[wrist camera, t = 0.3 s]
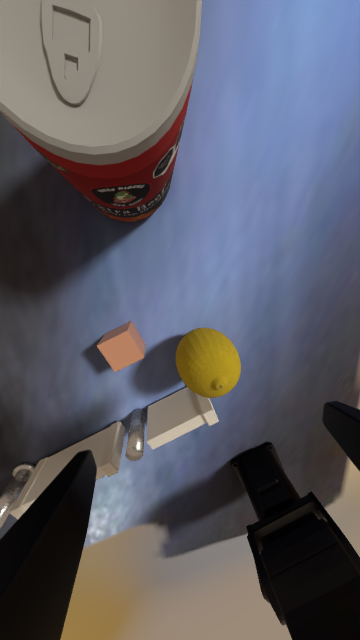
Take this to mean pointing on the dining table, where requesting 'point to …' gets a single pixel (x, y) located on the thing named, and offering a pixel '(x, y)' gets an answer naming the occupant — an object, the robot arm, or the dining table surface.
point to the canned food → (102, 92)
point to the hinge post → (136, 435)
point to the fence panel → (178, 416)
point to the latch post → (14, 489)
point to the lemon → (208, 362)
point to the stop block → (122, 346)
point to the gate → (101, 444)
